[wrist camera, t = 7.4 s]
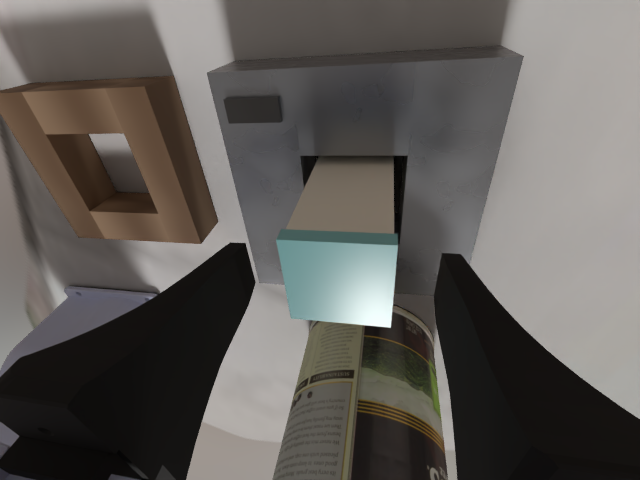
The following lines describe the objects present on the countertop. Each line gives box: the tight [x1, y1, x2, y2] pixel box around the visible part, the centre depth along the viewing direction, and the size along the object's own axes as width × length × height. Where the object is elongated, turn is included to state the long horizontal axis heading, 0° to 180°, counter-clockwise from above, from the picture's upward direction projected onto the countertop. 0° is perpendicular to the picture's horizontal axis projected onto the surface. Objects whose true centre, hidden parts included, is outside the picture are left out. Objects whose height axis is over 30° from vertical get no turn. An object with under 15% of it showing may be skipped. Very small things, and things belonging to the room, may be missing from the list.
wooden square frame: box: [0, 76, 218, 244], centre depth 19 cm, size 9×9×2 cm
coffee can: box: [273, 305, 448, 480], centre depth 21 cm, size 10×10×14 cm
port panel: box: [207, 46, 524, 296], centre depth 17 cm, size 12×12×3 cm
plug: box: [276, 156, 398, 328], centre depth 15 cm, size 4×4×9 cm
